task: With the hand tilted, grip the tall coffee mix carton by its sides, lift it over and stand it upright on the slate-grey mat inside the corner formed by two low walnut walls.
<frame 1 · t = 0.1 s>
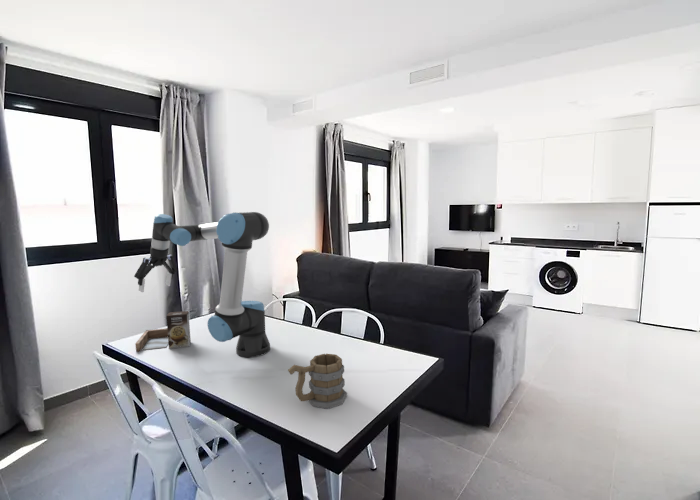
hand: (154, 288, 177), 28 cm above the table, tool tilted 20°, fingers open, 13 cm apart
coffee box: (180, 345, 177), on the table
tankard: (317, 401, 125), on the table
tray: (157, 343, 180), on the table
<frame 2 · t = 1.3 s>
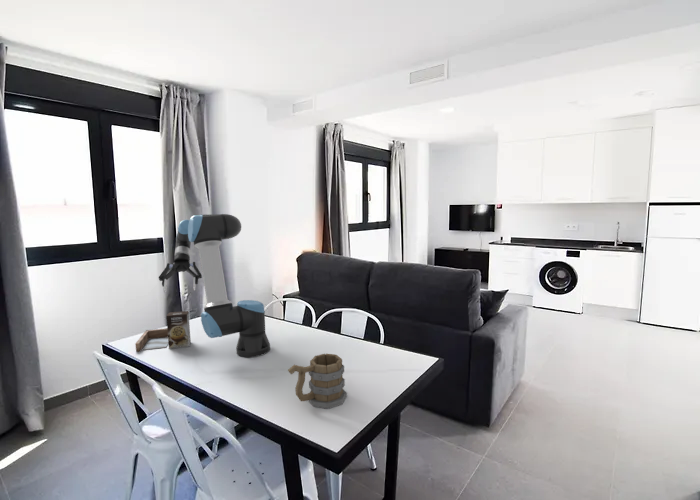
hand: (179, 290, 184), 25 cm above the table, tool tilted 45°, fingers open, 13 cm apart
nothing on the table moved.
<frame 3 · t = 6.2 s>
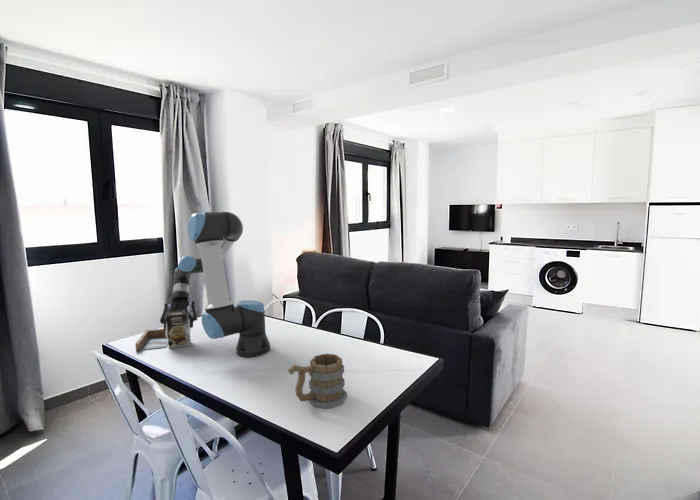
hand: (177, 334, 173), 6 cm above the table, tool tilted 45°, fingers closed on coffee box, 9 cm apart
coffee box: (180, 345, 177), on the table, touching gripper
everything else where it was.
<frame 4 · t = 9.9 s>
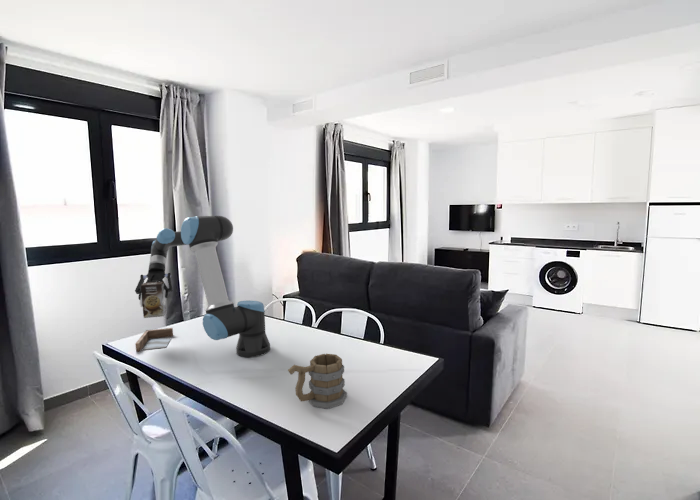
hand: (152, 304, 174), 21 cm above the table, tool tilted 45°, fingers closed on coffee box, 9 cm apart
coffee box: (155, 316, 178), point 14 cm above the table, touching gripper
everything else where it was.
when the fingers open (8 cm above the table, at t = 13.7 s): coffee box drops 1 cm, resting on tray.
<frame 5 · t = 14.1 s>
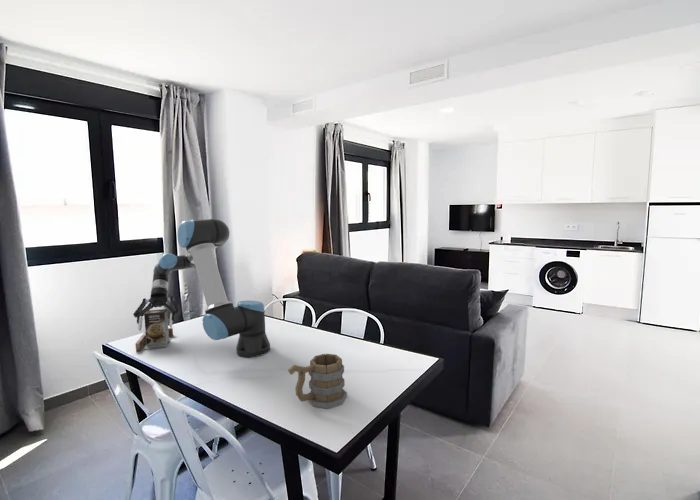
hand: (155, 327, 177), 9 cm above the table, tool tilted 45°, fingers open, 13 cm apart
coffee box: (158, 343, 180), resting on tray
everything else where it was.
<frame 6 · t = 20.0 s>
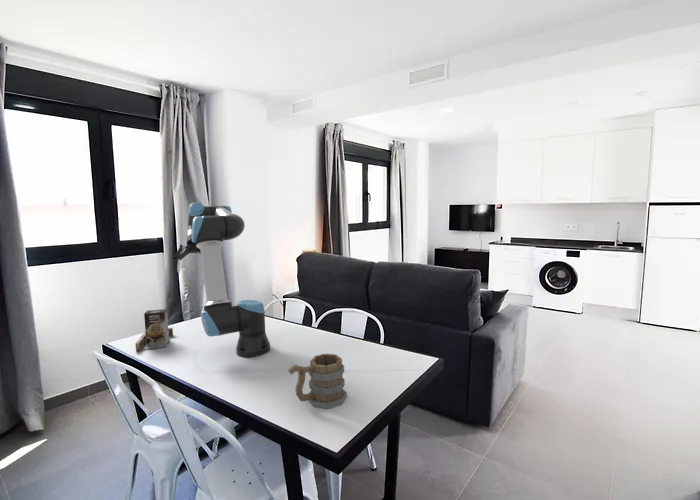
hand: (192, 270, 189), 34 cm above the table, tool tilted 45°, fingers open, 13 cm apart
nothing on the table moved.
at the end: coffee box inside the target area on the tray (0.5 cm from its centre), point 0.1 cm above the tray's base; coffee box tilted 0°; the gripper is holding nothing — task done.
